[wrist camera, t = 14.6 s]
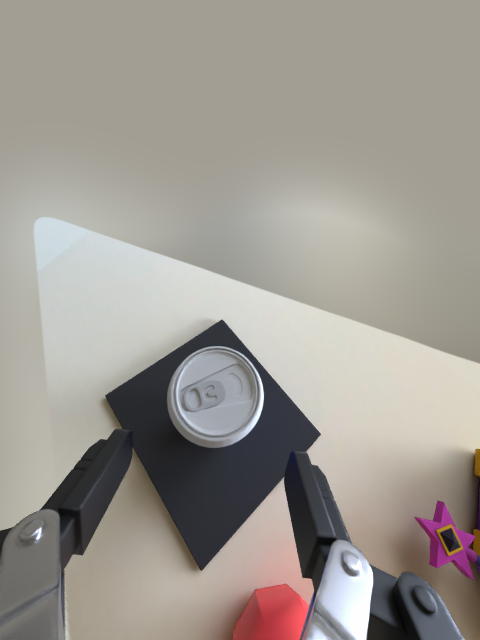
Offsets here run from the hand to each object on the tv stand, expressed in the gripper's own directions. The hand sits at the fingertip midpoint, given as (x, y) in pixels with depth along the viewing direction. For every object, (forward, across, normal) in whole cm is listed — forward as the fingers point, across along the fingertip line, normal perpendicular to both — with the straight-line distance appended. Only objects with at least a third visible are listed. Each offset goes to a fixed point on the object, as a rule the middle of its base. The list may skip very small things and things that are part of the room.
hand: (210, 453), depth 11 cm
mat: (+12, 0, +8) cm, 14 cm away
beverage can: (+12, 0, +8) cm, 14 cm away
